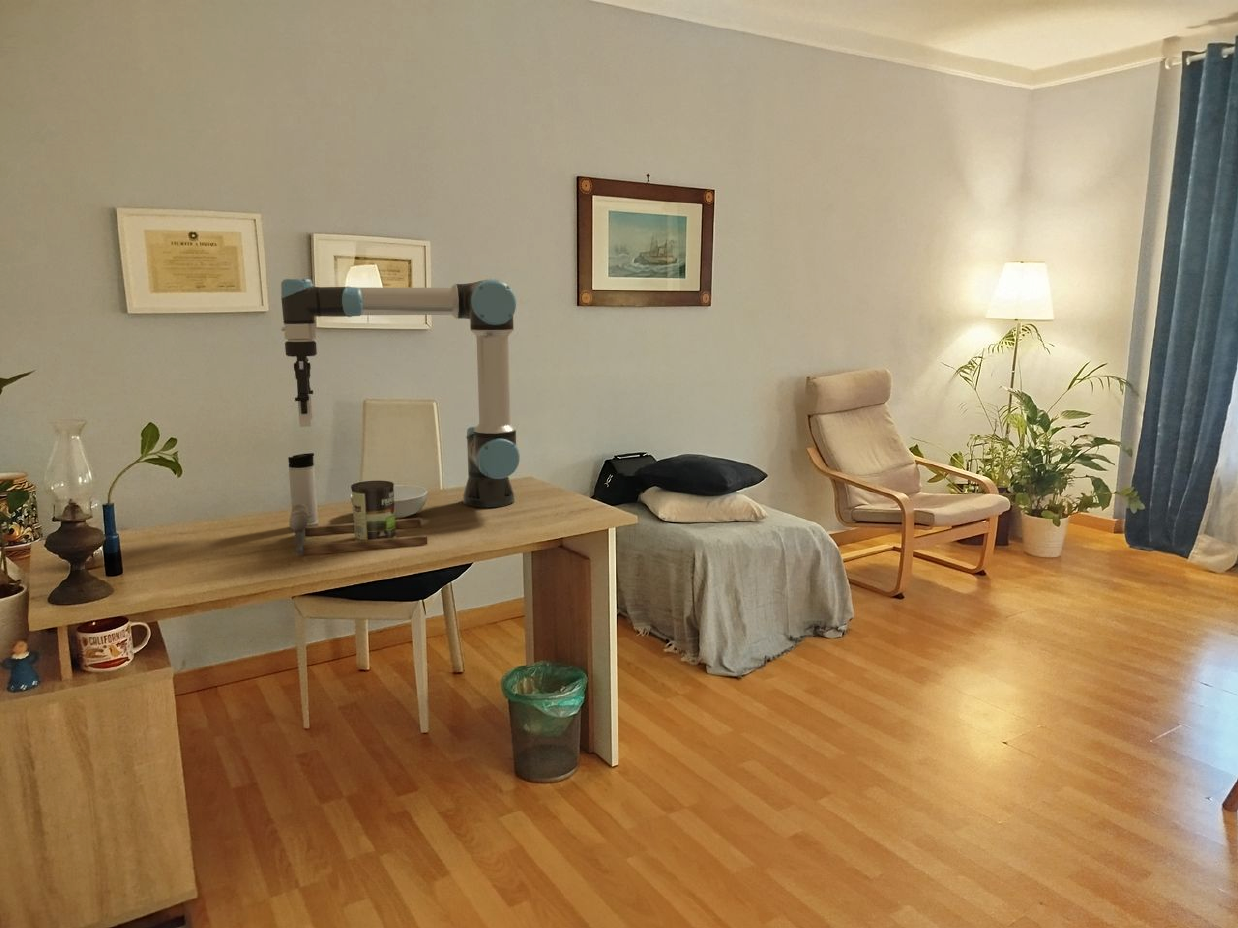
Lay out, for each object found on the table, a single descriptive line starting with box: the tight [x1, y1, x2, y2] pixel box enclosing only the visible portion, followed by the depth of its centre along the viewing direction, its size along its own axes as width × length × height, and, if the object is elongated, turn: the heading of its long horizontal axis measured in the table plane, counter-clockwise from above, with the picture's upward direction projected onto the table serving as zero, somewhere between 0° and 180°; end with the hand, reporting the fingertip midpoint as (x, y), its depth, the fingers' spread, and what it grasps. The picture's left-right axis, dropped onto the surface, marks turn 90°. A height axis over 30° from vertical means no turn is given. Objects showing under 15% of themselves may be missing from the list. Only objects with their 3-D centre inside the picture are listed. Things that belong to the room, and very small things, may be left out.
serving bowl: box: [349, 484, 429, 520], centre depth 238 cm, size 21×21×7 cm
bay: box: [289, 504, 428, 557], centre depth 214 cm, size 32×19×9 cm, turn 108°
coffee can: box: [350, 480, 397, 541], centre depth 215 cm, size 10×10×14 cm
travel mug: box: [287, 452, 319, 527], centre depth 225 cm, size 6×7×20 cm
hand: (306, 422), depth 222 cm, fingers open, 13 cm apart
